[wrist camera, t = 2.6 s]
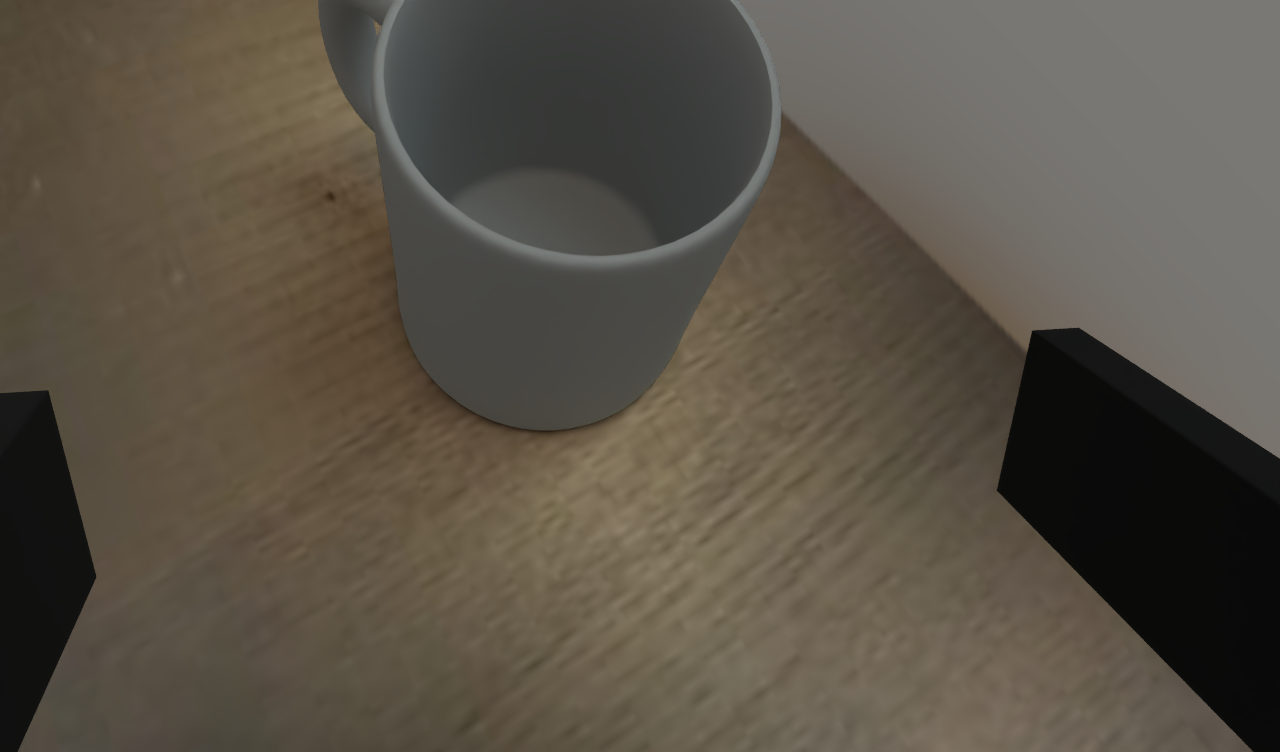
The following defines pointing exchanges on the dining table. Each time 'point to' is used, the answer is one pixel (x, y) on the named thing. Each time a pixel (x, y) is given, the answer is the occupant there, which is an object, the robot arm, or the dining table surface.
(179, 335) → the dining table surface
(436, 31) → the mug
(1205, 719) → the dining table surface
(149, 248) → the dining table surface
